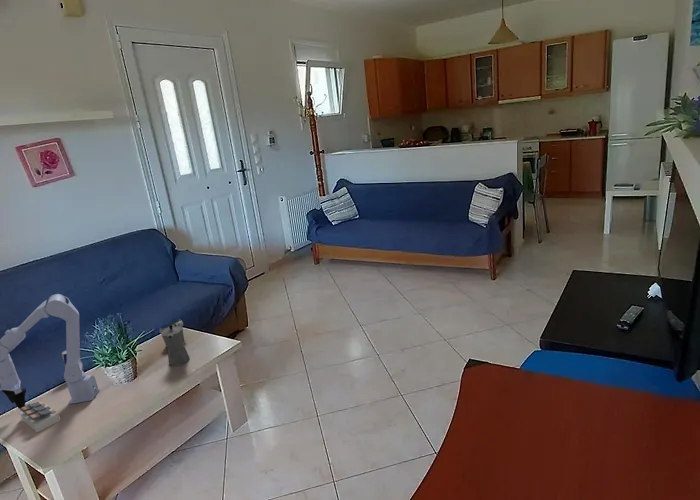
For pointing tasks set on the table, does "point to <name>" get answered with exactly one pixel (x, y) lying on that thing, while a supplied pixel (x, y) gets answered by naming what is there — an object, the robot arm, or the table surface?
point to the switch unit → (41, 419)
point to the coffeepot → (175, 345)
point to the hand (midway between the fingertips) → (18, 404)
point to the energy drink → (64, 356)
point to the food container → (178, 324)
